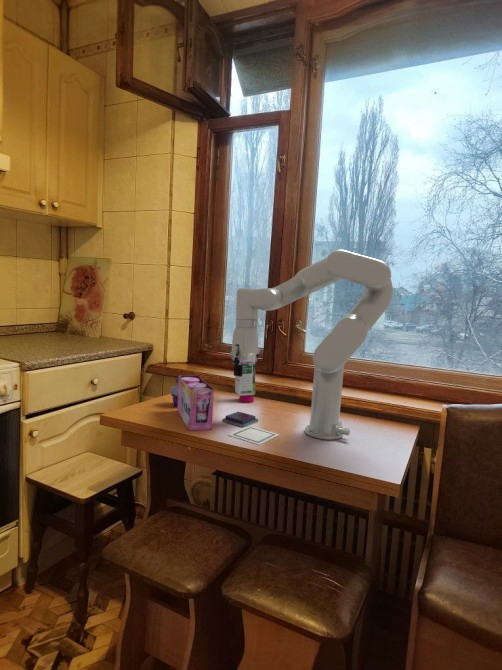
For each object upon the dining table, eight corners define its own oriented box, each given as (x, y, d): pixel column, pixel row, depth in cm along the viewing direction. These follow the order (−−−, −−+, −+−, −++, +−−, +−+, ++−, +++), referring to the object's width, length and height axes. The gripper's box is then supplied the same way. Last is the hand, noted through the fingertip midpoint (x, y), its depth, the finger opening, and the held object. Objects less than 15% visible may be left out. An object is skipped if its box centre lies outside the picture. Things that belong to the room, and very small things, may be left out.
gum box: (213, 431, 133) (216, 390, 132) (190, 432, 130) (192, 391, 129) (197, 409, 155) (198, 375, 154) (176, 410, 153) (178, 375, 151)
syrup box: (239, 396, 139) (239, 354, 138) (234, 392, 145) (235, 351, 144) (255, 395, 141) (255, 353, 140) (250, 391, 147) (250, 351, 145)
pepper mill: (254, 403, 169) (257, 356, 166) (237, 402, 169) (240, 355, 167) (255, 399, 176) (257, 353, 174) (238, 398, 176) (241, 352, 174)
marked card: (279, 435, 133) (279, 434, 133) (259, 445, 123) (259, 444, 123) (249, 426, 140) (249, 425, 140) (228, 435, 130) (228, 434, 130)
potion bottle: (175, 401, 165) (177, 372, 164) (195, 404, 162) (196, 374, 161) (165, 406, 157) (166, 376, 156) (185, 409, 154) (186, 378, 153)
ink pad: (257, 421, 146) (258, 416, 145) (243, 427, 138) (243, 421, 138) (237, 416, 151) (238, 410, 150) (222, 421, 143) (222, 415, 143)
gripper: (252, 322, 150) (250, 369, 152) (222, 324, 136) (221, 376, 137) (269, 323, 146) (267, 372, 147) (240, 326, 131) (238, 379, 133)
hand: (245, 374), depth 142 cm, fingers closed on syrup box, 7 cm apart
